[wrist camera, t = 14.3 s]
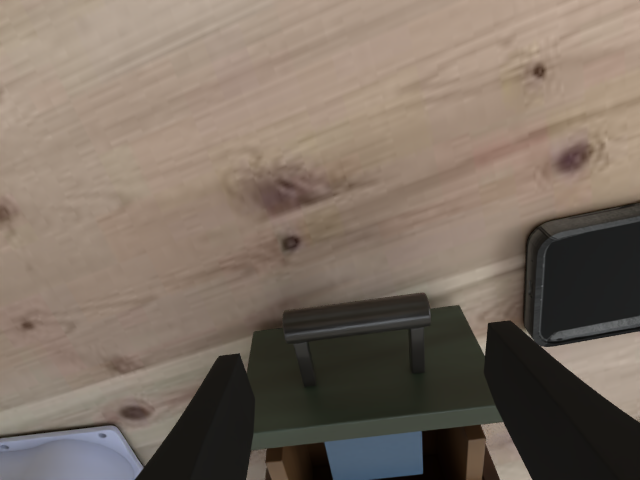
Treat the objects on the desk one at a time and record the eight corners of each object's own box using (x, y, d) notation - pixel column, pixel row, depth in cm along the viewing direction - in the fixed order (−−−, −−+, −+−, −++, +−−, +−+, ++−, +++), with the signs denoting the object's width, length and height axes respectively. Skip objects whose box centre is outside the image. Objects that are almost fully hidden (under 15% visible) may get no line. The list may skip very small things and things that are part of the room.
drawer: (233, 269, 20) (206, 366, 15) (461, 238, 20) (520, 327, 14) (293, 460, 29) (290, 566, 23) (454, 442, 28) (489, 547, 23)
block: (329, 406, 24) (333, 484, 20) (318, 353, 22) (320, 429, 18) (404, 397, 24) (423, 474, 20) (401, 343, 22) (421, 417, 18)
